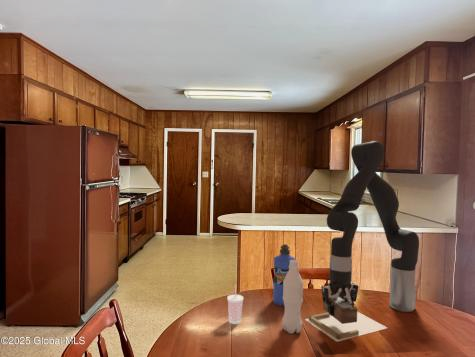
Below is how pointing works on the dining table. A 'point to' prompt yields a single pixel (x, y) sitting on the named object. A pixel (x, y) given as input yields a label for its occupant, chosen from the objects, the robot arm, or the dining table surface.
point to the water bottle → (292, 299)
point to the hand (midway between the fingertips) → (339, 314)
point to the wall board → (344, 326)
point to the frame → (343, 311)
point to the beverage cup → (235, 307)
